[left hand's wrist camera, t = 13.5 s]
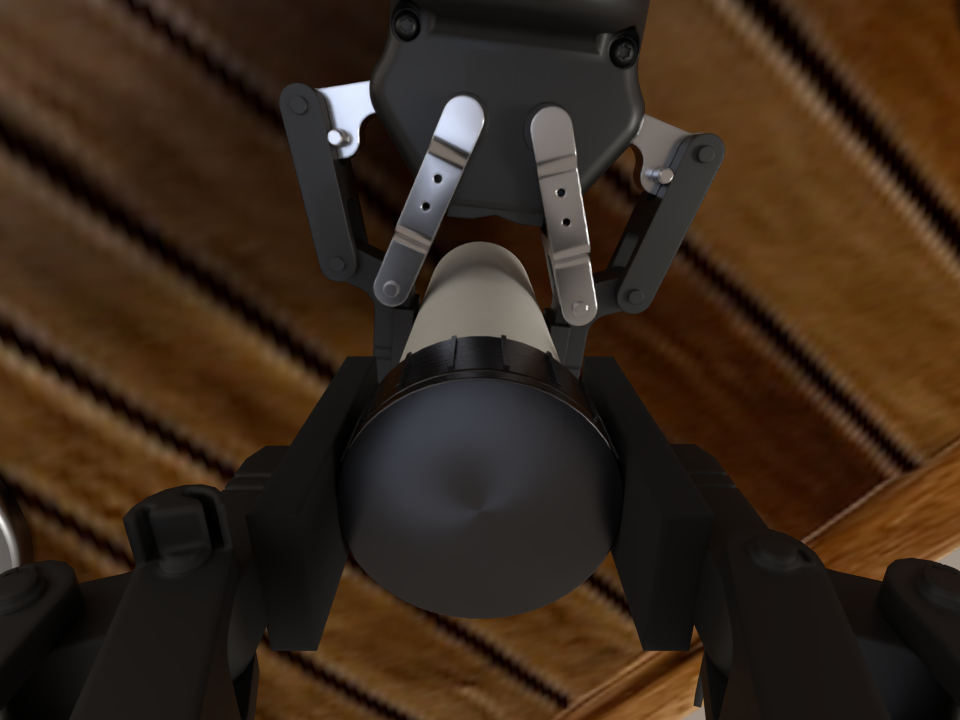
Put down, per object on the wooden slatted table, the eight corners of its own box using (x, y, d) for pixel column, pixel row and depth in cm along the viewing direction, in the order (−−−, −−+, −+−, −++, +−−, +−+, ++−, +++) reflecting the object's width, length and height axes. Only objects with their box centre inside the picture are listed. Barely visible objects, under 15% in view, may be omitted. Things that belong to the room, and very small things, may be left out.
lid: (326, 356, 11) (291, 404, 9) (586, 308, 11) (613, 346, 9) (391, 560, 13) (374, 638, 11) (614, 525, 13) (640, 599, 11)
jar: (421, 249, 25) (331, 403, 10) (523, 234, 25) (593, 368, 10) (439, 345, 27) (386, 601, 12) (534, 331, 26) (608, 576, 11)
